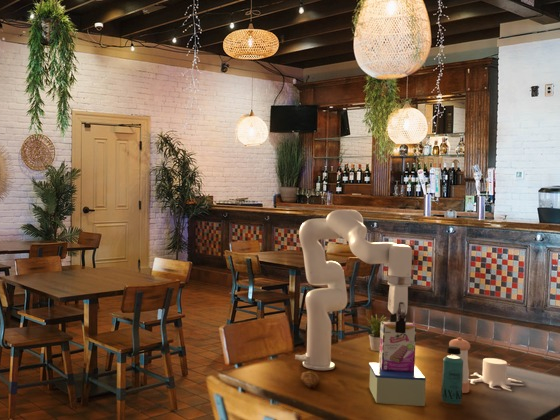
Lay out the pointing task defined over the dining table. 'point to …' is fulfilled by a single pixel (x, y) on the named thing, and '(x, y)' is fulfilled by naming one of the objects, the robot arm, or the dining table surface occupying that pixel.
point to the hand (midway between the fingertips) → (397, 329)
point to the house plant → (375, 332)
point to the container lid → (396, 373)
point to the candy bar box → (397, 348)
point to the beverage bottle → (452, 377)
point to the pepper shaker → (464, 349)
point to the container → (397, 390)
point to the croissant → (310, 379)
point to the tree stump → (494, 374)
